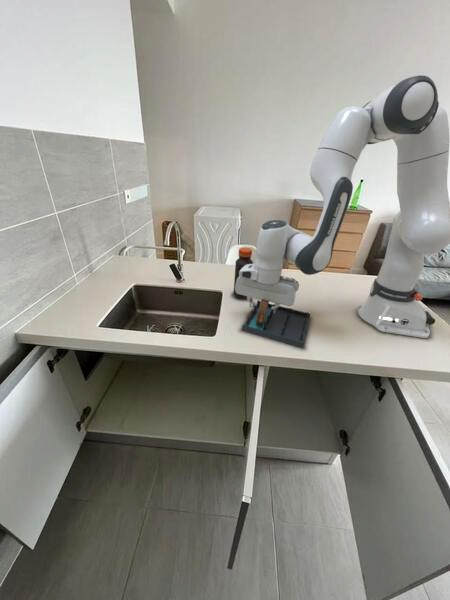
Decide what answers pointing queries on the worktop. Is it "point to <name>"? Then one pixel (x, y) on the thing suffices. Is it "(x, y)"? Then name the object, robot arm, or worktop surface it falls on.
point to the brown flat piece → (262, 312)
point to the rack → (279, 325)
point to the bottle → (240, 263)
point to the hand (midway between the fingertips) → (262, 309)
